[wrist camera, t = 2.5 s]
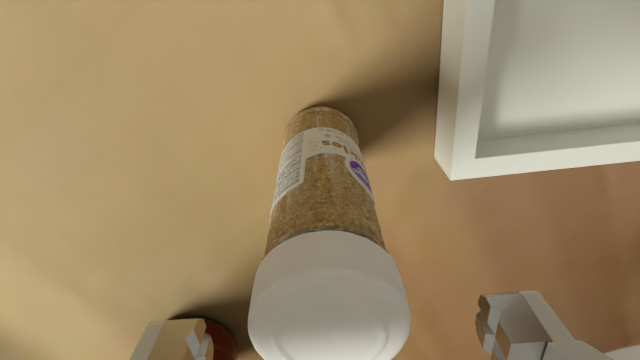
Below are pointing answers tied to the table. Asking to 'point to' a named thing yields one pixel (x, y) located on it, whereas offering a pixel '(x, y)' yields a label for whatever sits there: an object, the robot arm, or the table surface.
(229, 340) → the mug
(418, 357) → the table surface
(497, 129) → the tray
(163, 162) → the table surface
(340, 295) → the sprinkles bottle
